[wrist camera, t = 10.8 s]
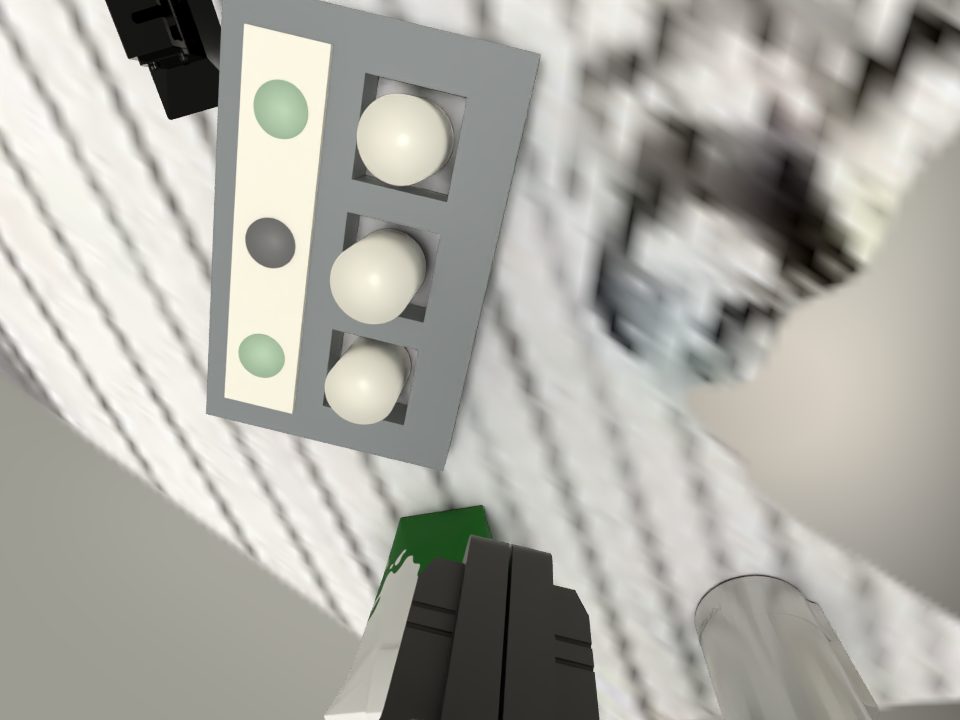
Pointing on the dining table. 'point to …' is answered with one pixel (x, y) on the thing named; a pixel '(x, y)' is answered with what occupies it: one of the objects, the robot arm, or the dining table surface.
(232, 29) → the button board
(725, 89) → the dining table surface
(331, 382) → the button
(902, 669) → the dining table surface
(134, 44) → the black boxy piece
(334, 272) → the button
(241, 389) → the strip
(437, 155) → the button
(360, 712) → the milk carton
